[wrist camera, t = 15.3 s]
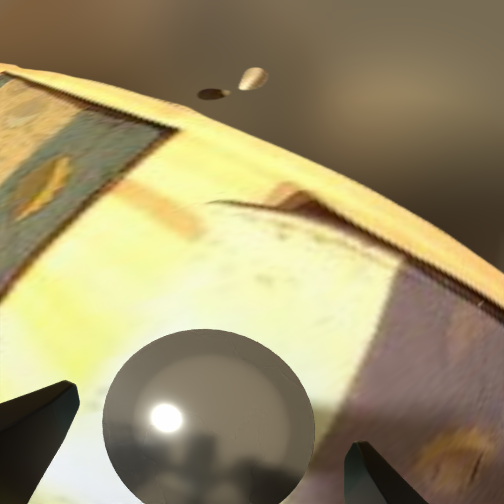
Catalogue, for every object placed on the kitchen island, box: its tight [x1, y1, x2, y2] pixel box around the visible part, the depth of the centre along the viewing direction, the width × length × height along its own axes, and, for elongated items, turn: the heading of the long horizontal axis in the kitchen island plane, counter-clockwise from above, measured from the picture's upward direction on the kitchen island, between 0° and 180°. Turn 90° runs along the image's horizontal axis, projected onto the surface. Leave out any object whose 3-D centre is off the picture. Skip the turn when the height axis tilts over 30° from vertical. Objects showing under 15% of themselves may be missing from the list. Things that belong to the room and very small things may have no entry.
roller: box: [102, 329, 315, 504], centre depth 10 cm, size 4×4×11 cm
